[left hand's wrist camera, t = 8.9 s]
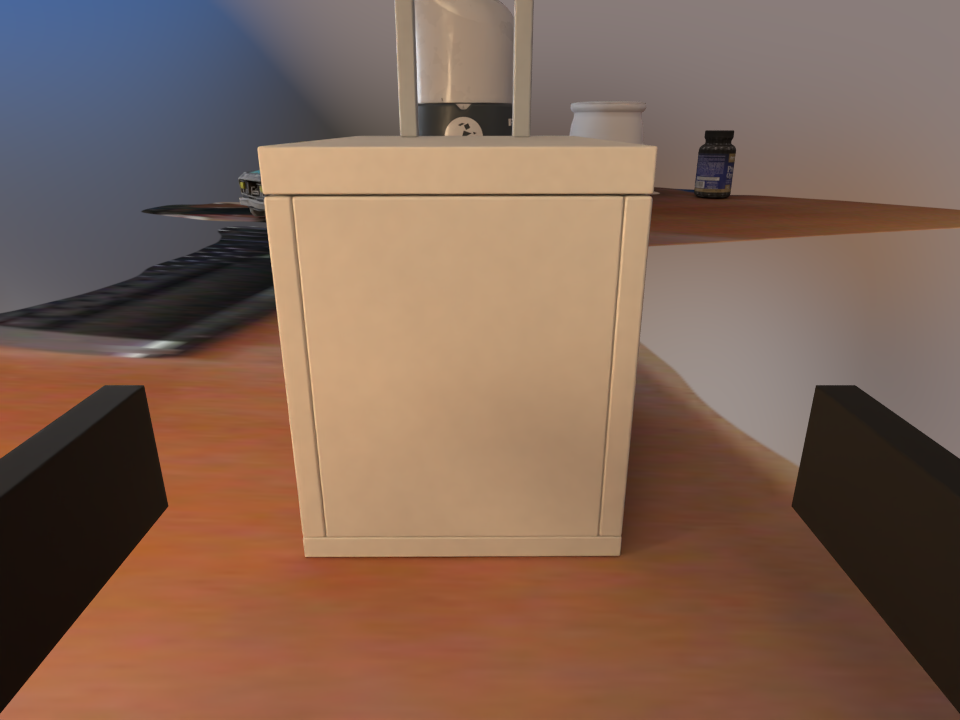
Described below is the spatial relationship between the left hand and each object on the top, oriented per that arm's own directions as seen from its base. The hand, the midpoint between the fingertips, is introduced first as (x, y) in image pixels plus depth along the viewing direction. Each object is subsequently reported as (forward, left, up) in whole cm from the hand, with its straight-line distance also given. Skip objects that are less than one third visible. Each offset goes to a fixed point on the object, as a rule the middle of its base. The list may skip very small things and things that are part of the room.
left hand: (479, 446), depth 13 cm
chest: (-7, +10, -7) cm, 13 cm away
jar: (-29, +83, -7) cm, 88 cm away
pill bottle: (-20, +111, -7) cm, 113 cm away
